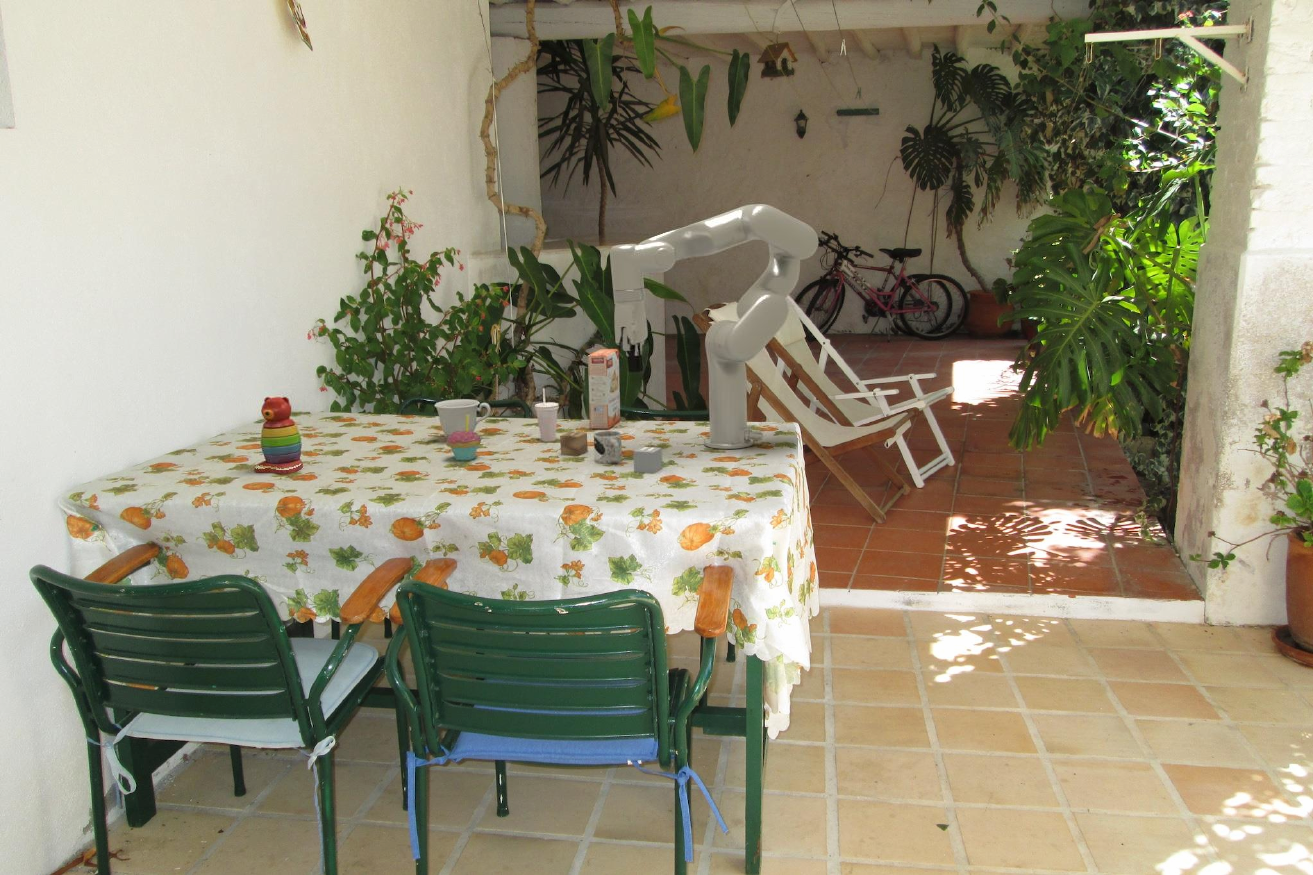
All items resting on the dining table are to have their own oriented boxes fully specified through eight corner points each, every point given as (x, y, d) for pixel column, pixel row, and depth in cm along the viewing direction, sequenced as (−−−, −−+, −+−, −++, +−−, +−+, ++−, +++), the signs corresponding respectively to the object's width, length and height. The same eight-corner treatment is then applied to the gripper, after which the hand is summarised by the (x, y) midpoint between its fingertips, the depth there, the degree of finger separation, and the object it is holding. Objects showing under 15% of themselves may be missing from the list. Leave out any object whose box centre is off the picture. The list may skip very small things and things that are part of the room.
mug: (590, 459, 257) (589, 433, 256) (616, 456, 260) (615, 430, 258) (605, 468, 248) (604, 440, 247) (631, 464, 251) (630, 437, 249)
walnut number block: (587, 452, 266) (586, 432, 265) (578, 456, 261) (577, 436, 260) (570, 450, 268) (569, 431, 267) (561, 455, 263) (560, 435, 262)
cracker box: (610, 430, 292) (607, 355, 287) (589, 429, 293) (586, 355, 288) (622, 420, 305) (619, 348, 301) (601, 419, 306) (599, 348, 302)
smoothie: (536, 438, 283) (533, 387, 281) (560, 437, 284) (558, 386, 281) (536, 443, 277) (533, 390, 274) (560, 442, 278) (557, 389, 275)
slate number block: (662, 468, 246) (661, 447, 245) (653, 473, 242) (653, 451, 241) (642, 467, 248) (642, 445, 247) (634, 472, 244) (633, 450, 243)
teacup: (488, 443, 279) (485, 406, 277) (432, 444, 279) (429, 407, 277) (496, 433, 291) (493, 398, 289) (442, 435, 291) (439, 399, 289)
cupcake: (488, 456, 264) (485, 409, 262) (469, 463, 256) (465, 415, 254) (460, 453, 268) (457, 407, 265) (440, 461, 260) (436, 413, 258)
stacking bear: (250, 472, 254) (242, 400, 250) (278, 462, 264) (271, 392, 260) (287, 475, 251) (279, 401, 247) (314, 465, 260) (307, 394, 256)
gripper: (627, 293, 261) (633, 366, 265) (602, 301, 248) (609, 377, 252) (655, 292, 258) (661, 365, 262) (631, 299, 245) (638, 377, 249)
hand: (635, 371), depth 257 cm, fingers closed
